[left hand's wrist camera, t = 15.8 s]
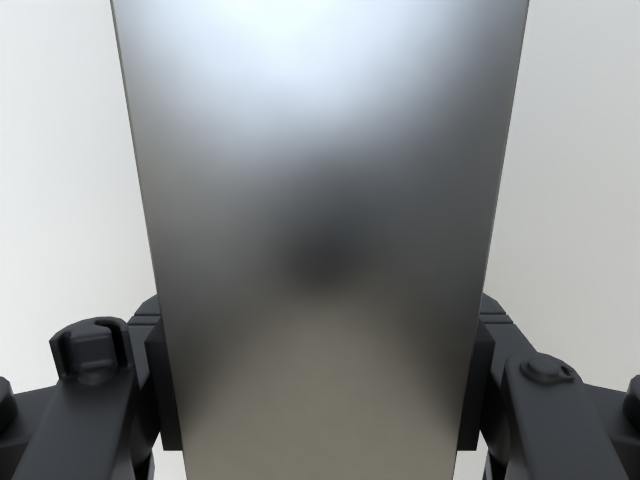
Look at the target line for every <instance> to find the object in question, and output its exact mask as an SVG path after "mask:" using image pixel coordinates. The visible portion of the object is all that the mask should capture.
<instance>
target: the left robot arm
mask: <svg viewBox="0 0 640 480" xmlns="http://www.w3.org/2000/svg"><path fill="white" fill-rule="evenodd" d="M49 344H50V347H51V351H52V354H53V358H54V362H55V365H56V369H57V372H58V376H59V380H58V382H57V384H56V385H55V386H51V387H47V388H42V389H38V390H33V391H28V392H23V393H18V394H13V391H12V388H11V385H10V382H9V381H8V380H6V379H5V378H4V377H0V480H153V478H154V470H155V465H154V458H153V453H152V447H153V445H154V443H155V441H156V439H157V436H158V434H159V432H160V434H161V439H162V445H163V450H164V451H182V446H181V439H180V433H179V427H178V421H177V414H176V408H175V402H174V396H173V389H172V383H171V377H170V371H169V365H168V358H167V352H166V346H165V340H164V333H163V327H162V321H161V315H160V308H159V302H158V296H157V294H156V295H155V296H153V297H151V298H150V299H148V300H147V301H145V302H143V303H142V305H141V306H140V307H139V308H138V310H137V311H136V312H135V314H134V316H132V317H131V319H130V320H129V321H128V322H127V323H126V322H125V321H124V320H122V319H120V318H115V317H95V318H90V319H85V320H82V321H79V322H76V323H74V324H71V325H69V326H67V327H65V328H64V329H62V330H60V331H59V332H57V333H56V334H55V335H54V336H53V337H52V338H51V339H50V340H49ZM480 430H481V433H482V435H483V437H484V439H485V441H486V444H487V446H488V453H487V458H486V463H485V468H484V473H483V478H482V480H640V375H637V376H635V377H634V378H633V379H631V381H630V384H629V387H628V390H627V393H626V392H621V391H616V390H612V389H607V388H602V387H597V386H592V385H588V384H585V383H583V381H582V379H581V377H580V376H579V375H578V374H577V372H576V371H575V370H574V369H573V368H572V367H570V366H569V365H568V364H566V363H565V362H563V361H562V360H559V359H557V358H555V357H552V356H550V355H547V354H543V353H539V352H537V351H536V350H535V349H534V347H533V346H532V345H531V344H530V342H529V341H528V340H527V339H526V337H525V336H524V335H523V334H522V332H521V331H520V330H519V329H518V327H517V326H516V325H515V324H513V321H512V320H511V318H510V317H509V316H508V315H506V312H505V311H504V310H503V308H502V307H501V306H500V305H499V303H498V302H497V301H496V300H494V299H492V298H491V297H489V296H488V295H486V294H484V293H483V294H482V300H481V306H480V312H479V318H478V325H477V331H476V337H475V343H474V350H473V356H472V362H471V368H470V375H469V381H468V387H467V393H466V400H465V406H464V412H463V418H462V425H461V431H460V437H459V443H458V450H457V451H476V449H477V443H478V438H479V432H480Z"/></svg>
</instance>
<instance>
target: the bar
mask: <svg viewBox="0 0 640 480" xmlns="http://www.w3.org/2000/svg"><path fill="white" fill-rule="evenodd" d="M110 3H111V9H112V15H113V22H114V28H115V34H116V40H117V47H118V53H119V59H120V65H121V72H122V78H123V84H124V90H125V96H126V103H127V109H128V115H129V121H130V128H131V134H132V140H133V146H134V153H135V159H136V165H137V171H138V178H139V184H140V190H141V196H142V202H143V209H144V215H145V221H146V227H147V234H148V240H149V246H150V252H151V259H152V265H153V271H154V277H155V284H156V290H157V296H158V302H159V308H160V315H161V321H162V327H163V333H164V340H165V346H166V352H167V358H168V365H169V371H170V377H171V383H172V389H173V396H174V402H175V408H176V414H177V421H178V427H179V433H180V439H181V446H182V452H183V458H184V464H185V471H186V477H187V480H453V475H454V468H455V462H456V456H457V450H458V443H459V437H460V431H461V425H462V418H463V412H464V406H465V400H466V393H467V387H468V381H469V375H470V368H471V362H472V356H473V350H474V343H475V337H476V331H477V325H478V318H479V312H480V306H481V300H482V294H483V287H484V281H485V275H486V269H487V262H488V256H489V250H490V244H491V237H492V231H493V225H494V219H495V212H496V206H497V200H498V194H499V187H500V181H501V175H502V169H503V162H504V156H505V150H506V144H507V138H508V131H509V125H510V119H511V113H512V106H513V100H514V94H515V88H516V81H517V75H518V69H519V63H520V56H521V50H522V44H523V38H524V31H525V25H526V19H527V13H528V6H529V0H110Z"/></svg>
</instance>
